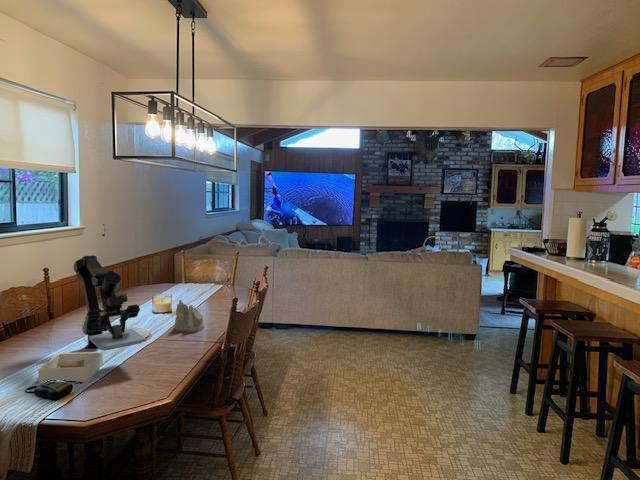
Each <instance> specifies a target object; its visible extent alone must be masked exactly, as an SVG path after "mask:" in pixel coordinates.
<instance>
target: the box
mask: <svg viewBox="0 0 640 480" xmlns="http://www.w3.org/2000/svg"><path fill="white" fill-rule="evenodd" d="M103 354H104V353H103V351H86V352H84V351H83V352H82V351H81V352H58V353H56V354H55V355H54V356H53V357H51V359H49V360H48V361H47V362H46V363H44V364H43V365H42V366H41V367H39V368H38V369H37V371H38V374H37V375H38V384H45V383H44V382H46V381H48V380H53V379H58V380H66V381H76V382H75V383H80V382H81V383H85V382H86V383H87V382H89V381H90V380H91V379H92V378H93V377H94V375H95V374H96V373H97V372H98V371H99V369H100V368H101V367H102V366H103V365H104V355H103Z"/></svg>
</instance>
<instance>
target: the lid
mask: <svg viewBox="0 0 640 480" xmlns="http://www.w3.org/2000/svg"><path fill="white" fill-rule="evenodd" d="M112 328H113V332H114V334H113V335H112V334H111V333H110V332H107V333H105V332H104V333H102V334H99V335H93V336H89V339H90V340H91V341H92V342H93V343H94V344H95V345H96V346H97V347H98V349H99V350H100V351H104V352H105V351H110V350H115V349H121V348H125V347H129V346H134V345H139V344H142V343H146V342H147V338H146V337H145V336H143V335H141V334H140V333H139V332H138V331H136V330H135V329H133V328H129V329H125V332H124V333H123V332H122V325H120V324H114V325H112Z"/></svg>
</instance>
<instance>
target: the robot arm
mask: <svg viewBox="0 0 640 480" xmlns="http://www.w3.org/2000/svg"><path fill="white" fill-rule="evenodd" d="M73 271H74V272H75V275H76V277H77V278H78V279H79V280H80V281H81V283H82V289H83V295H84V299H85V305H86V309H87V312H86V315H85V318H84V323H83V325H82V333H83V334H84V335H86V336H87V344H86V345H85V346H84V348H85V349H97V348H98V347H97V346H96V345H95V344H94V343H93V342H92V341H91V340H90V339H89V336H93V335H99V334H103V332H104V333H105V332H107V331H108V333H111V334H112V335H113V334H114V332H113V328H112V326H113V325H112V323H111V319H110V318H111V317H112V318H113V317H118V316H119V317H120V318H119V325H122V332H123V333H124V332H125V330H126V322H127V320H128V319H131V318H133V319H134V318H136V317H138V315H139V313H140V311H141V307H140V305H138V304H130V305H127V308H126V309H122V307H123V304H124V303H127V302H128V296H127V293H121V294H119V295H117V293H116V292H117V290H118V288H119V285H120V283H121V280H122V278H121V277H122V276H120V275H119V274H118V273H117V272H114V270H110V269H106V268H104V267H103V266H102V265H101V262H100V261H99V260H98V258H97V255H92V254H91V255H84V256H83V257H82V258H80V259H77V260H75V262H74V263H73ZM96 288H99V289H98V295H97V291H96ZM98 296H99V298H100V302H101V308H102V309H101V308H100V304H99V301H98ZM98 349H99V348H98Z"/></svg>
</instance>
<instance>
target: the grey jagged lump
mask: <svg viewBox="0 0 640 480" xmlns="http://www.w3.org/2000/svg"><path fill="white" fill-rule="evenodd" d="M175 313H176V314H175V315H176V317H175V319H174V320H175V321H174V327H173V329H174V330H176V331H179V332H191V333H196V332H201V331H203V330H204V329H205V326H204V324H203V323H204V322H203V321H204V320H203V318H204V317H203V314H201V313H200V312H199V310H198V308H197V307H196V306H193V305H192V304H189V305H187V304H186V303H184V302H183V301H182V300H181V299H179V300H178V303H177V305H176V309H175Z"/></svg>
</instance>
